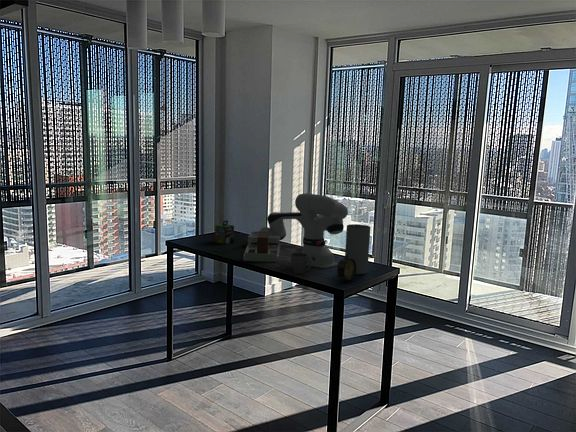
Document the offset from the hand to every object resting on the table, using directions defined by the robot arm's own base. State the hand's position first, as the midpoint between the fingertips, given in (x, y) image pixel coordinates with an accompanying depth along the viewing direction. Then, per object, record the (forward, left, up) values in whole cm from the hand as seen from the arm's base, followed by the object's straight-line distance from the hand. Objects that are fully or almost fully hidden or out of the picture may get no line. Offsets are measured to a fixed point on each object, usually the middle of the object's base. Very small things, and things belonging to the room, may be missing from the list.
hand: (263, 241), depth 298 cm
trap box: (-3, +3, -6) cm, 8 cm away
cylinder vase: (-63, -11, -6) cm, 64 cm away
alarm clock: (-71, +7, -6) cm, 71 cm away
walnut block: (-10, +9, -5) cm, 14 cm away
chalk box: (+35, +3, -6) cm, 36 cm away
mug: (-46, +14, -6) cm, 49 cm away
